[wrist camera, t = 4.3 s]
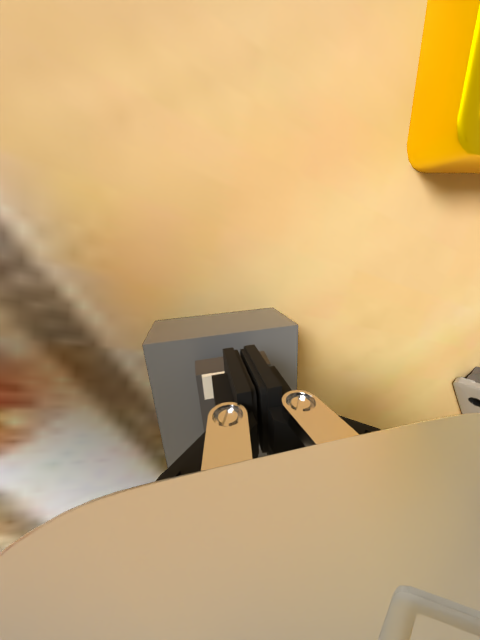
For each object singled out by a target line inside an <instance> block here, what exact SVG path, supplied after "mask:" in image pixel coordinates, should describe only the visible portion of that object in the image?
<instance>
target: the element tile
mask: <svg viewBox="0 0 480 640" xmlns="http://www.w3.org/2000/svg"><path fill="white" fill-rule="evenodd" d="M407 153H408V159H409V162H410V163H411V165H412V167H413V168H414V169H416V170H418V171H419V172H423V173H480V0H428V2H427V9H426V16H425V23H424V30H423V37H422V43H421V50H420V57H419V64H418V71H417V78H416V85H415V92H414V99H413V106H412V113H411V120H410V127H409V134H408V141H407Z"/></svg>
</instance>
